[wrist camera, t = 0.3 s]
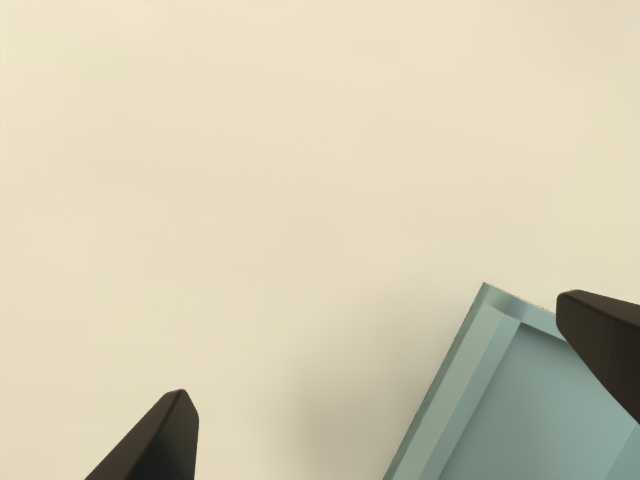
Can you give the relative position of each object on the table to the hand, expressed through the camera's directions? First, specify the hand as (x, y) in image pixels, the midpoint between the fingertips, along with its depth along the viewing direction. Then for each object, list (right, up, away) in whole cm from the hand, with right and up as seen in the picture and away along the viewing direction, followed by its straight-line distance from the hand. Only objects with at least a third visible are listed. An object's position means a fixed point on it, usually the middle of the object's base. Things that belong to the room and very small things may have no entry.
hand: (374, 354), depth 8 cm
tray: (+14, -12, +18) cm, 25 cm away
